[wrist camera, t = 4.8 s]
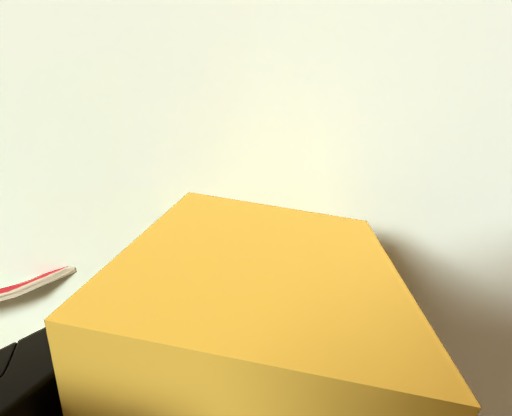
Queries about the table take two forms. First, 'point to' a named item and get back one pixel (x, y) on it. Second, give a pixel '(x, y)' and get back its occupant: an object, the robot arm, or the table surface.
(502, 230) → the table surface
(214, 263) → the mustard cube
